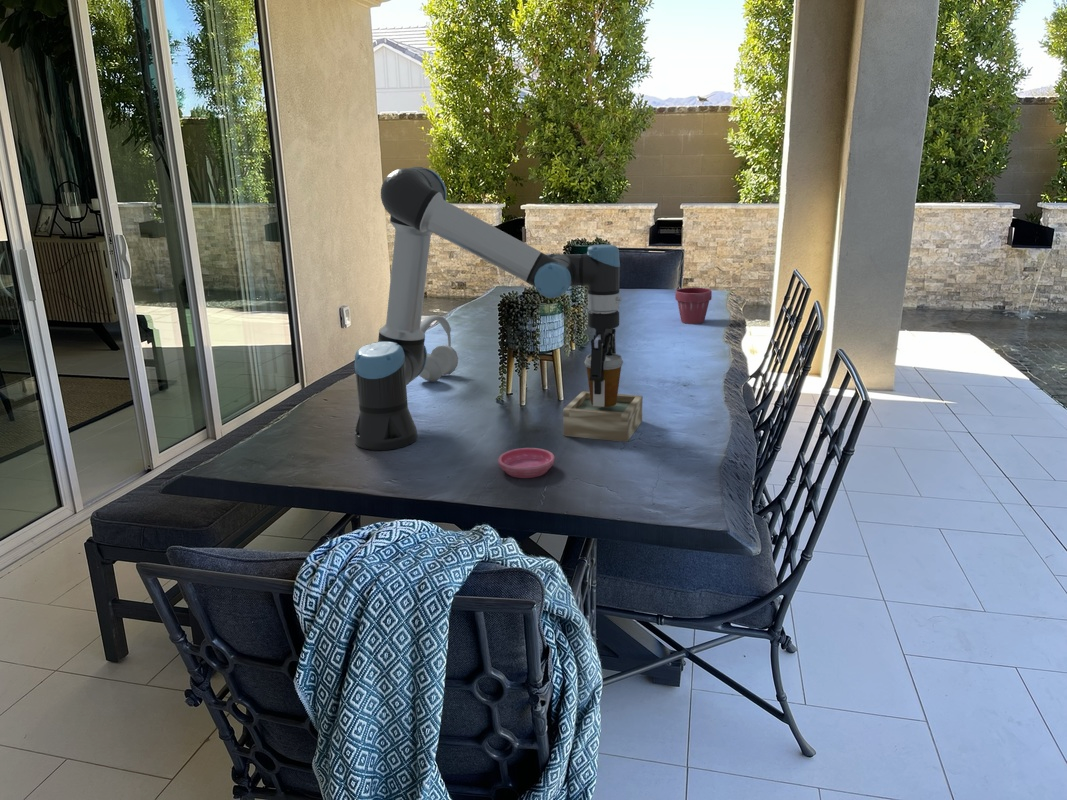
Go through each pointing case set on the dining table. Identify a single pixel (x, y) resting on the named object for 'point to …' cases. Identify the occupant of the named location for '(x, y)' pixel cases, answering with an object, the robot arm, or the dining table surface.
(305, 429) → the dining table surface
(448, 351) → the headphones
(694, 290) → the plant pot
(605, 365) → the disposable coffee cup
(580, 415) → the open wooden box
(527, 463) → the saucer
